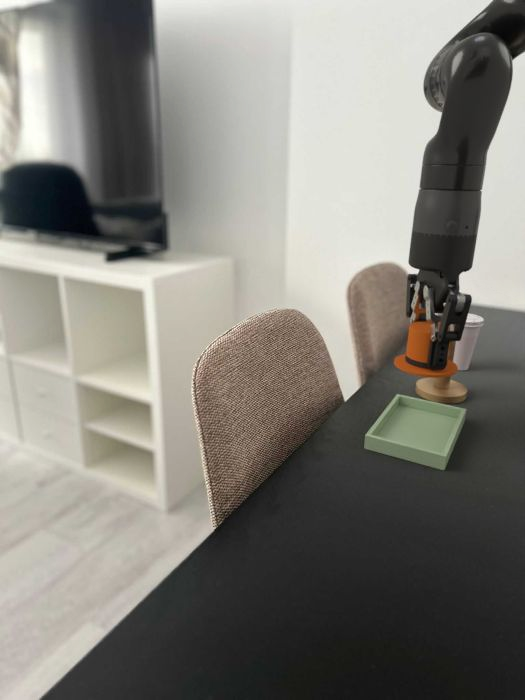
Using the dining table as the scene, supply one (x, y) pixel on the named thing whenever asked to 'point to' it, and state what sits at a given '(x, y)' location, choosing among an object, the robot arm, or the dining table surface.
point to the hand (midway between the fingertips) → (426, 360)
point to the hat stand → (442, 385)
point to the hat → (421, 354)
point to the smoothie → (467, 341)
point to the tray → (417, 431)
